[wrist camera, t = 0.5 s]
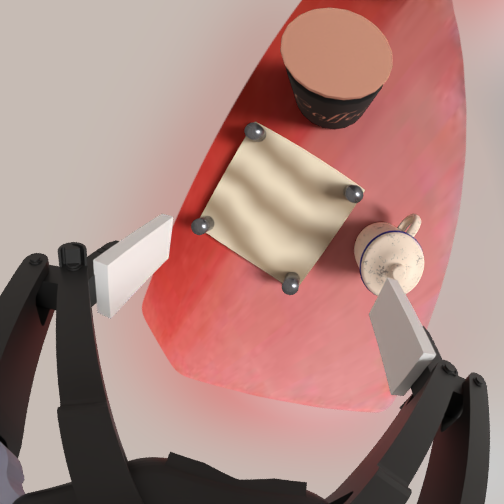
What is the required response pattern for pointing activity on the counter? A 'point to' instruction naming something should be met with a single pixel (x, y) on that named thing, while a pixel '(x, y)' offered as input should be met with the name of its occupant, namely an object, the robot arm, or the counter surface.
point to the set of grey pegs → (207, 222)
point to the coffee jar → (335, 65)
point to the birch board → (278, 206)
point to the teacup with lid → (390, 254)
